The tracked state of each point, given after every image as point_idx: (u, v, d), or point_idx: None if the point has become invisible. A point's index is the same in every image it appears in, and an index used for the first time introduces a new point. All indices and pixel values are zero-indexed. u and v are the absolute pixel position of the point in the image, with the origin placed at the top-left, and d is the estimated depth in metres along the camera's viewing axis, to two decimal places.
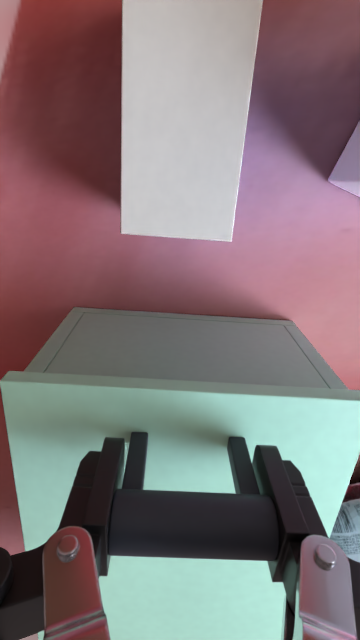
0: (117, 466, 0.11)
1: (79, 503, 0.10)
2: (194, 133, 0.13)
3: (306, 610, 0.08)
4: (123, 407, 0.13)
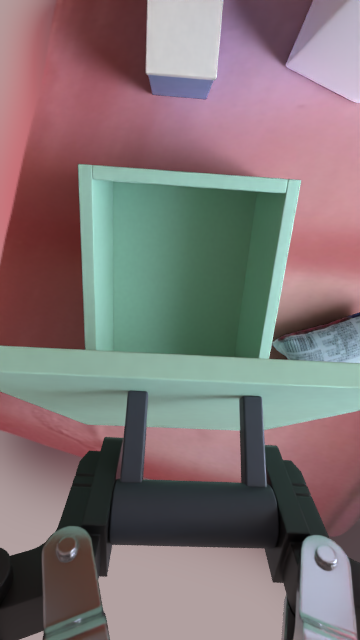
0: (117, 466, 0.11)
1: (79, 503, 0.10)
2: (192, 0, 0.22)
3: (307, 610, 0.08)
4: (113, 383, 0.11)
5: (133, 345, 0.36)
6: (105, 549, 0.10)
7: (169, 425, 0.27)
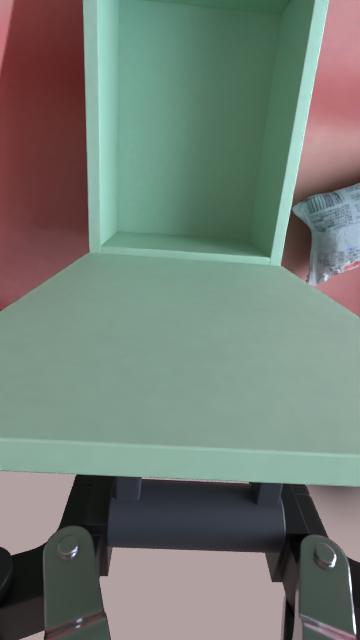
0: None
1: (80, 503, 0.10)
2: None
3: (305, 610, 0.08)
4: None
5: (139, 212, 0.33)
6: (106, 549, 0.10)
7: None
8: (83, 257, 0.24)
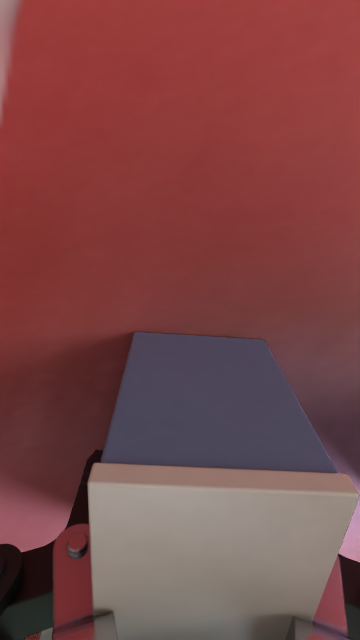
0: None
1: None
2: None
3: None
4: None
5: None
6: None
7: None
8: None
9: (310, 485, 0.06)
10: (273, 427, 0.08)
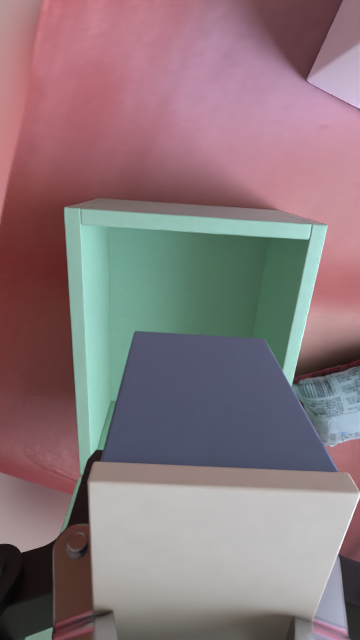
0: None
1: None
2: None
3: None
4: None
5: None
6: None
7: None
8: (73, 501, 0.24)
9: (311, 484, 0.06)
10: (274, 427, 0.08)
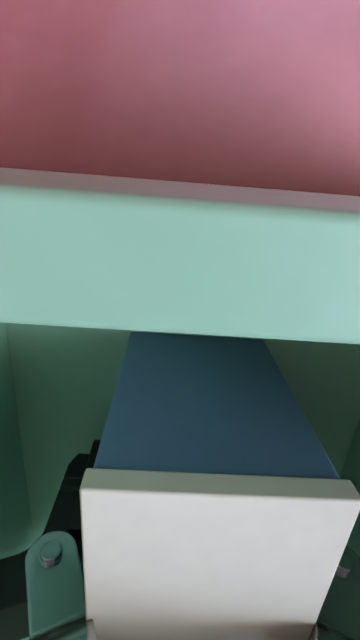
0: None
1: (66, 507, 0.10)
2: None
3: (324, 618, 0.08)
4: None
5: None
6: None
7: None
8: None
9: (311, 491, 0.06)
10: (273, 431, 0.07)
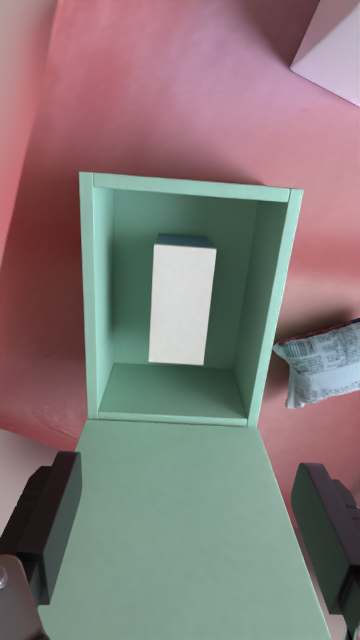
0: (66, 484, 0.10)
1: (20, 525, 0.10)
2: (184, 321, 0.28)
3: None
4: None
5: (133, 347, 0.36)
6: (45, 577, 0.09)
7: None
8: (82, 436, 0.27)
9: (205, 248, 0.26)
10: (200, 245, 0.28)
